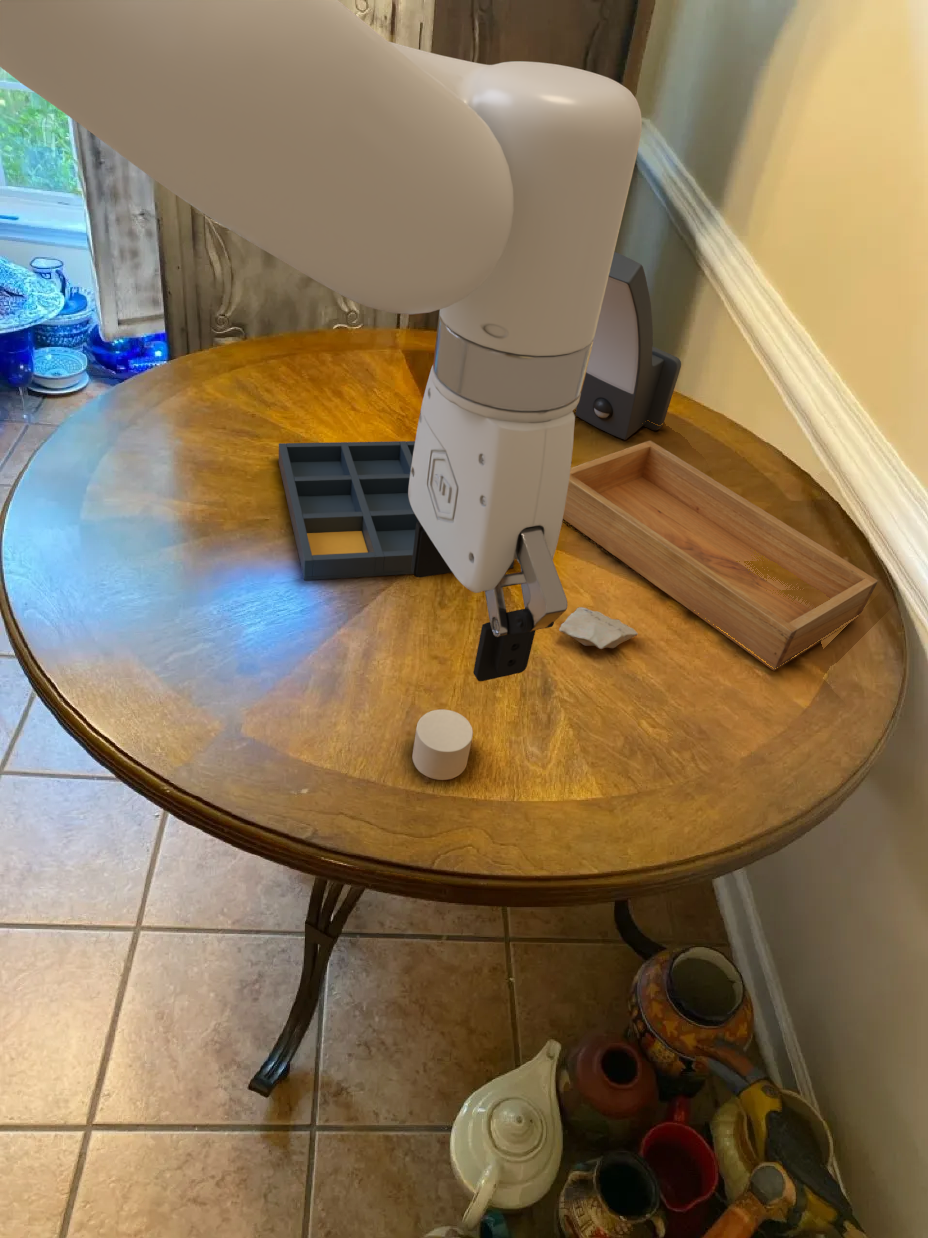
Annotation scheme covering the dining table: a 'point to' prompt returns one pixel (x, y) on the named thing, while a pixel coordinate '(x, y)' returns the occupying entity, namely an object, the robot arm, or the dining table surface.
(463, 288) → the robot arm
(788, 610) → the tray
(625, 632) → the stone
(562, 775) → the dining table surface
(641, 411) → the light fixture
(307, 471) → the grid
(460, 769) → the cylinder
